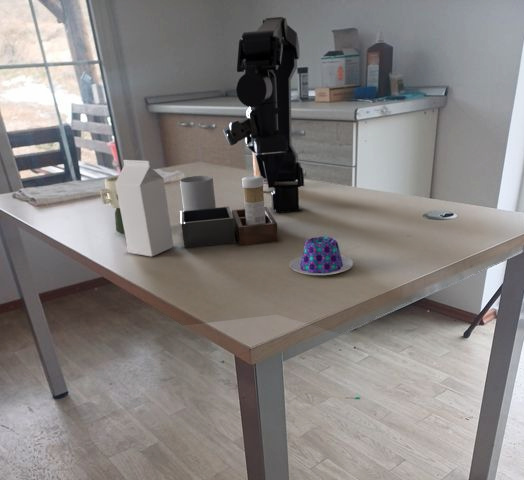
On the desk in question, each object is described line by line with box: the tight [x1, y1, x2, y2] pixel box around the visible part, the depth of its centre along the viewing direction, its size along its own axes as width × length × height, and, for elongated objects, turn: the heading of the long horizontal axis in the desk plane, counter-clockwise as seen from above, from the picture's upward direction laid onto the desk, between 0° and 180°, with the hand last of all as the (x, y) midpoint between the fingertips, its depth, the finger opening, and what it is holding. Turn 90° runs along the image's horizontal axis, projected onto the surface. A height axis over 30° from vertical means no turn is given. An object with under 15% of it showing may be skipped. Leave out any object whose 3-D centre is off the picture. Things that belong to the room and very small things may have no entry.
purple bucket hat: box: [289, 236, 354, 276], centre depth 98 cm, size 12×12×5 cm
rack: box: [231, 206, 279, 246], centre depth 121 cm, size 8×16×4 cm, turn 9°
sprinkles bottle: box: [241, 175, 265, 225], centre depth 115 cm, size 5×5×14 cm
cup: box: [179, 175, 217, 211], centre depth 135 cm, size 8×8×10 cm
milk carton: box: [115, 159, 174, 257], centre depth 110 cm, size 7×7×19 cm
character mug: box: [99, 175, 125, 235], centre depth 126 cm, size 11×7×13 cm, turn 130°
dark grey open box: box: [180, 206, 236, 249], centre depth 119 cm, size 11×11×6 cm
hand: (267, 182), depth 113 cm, fingers open, 9 cm apart
